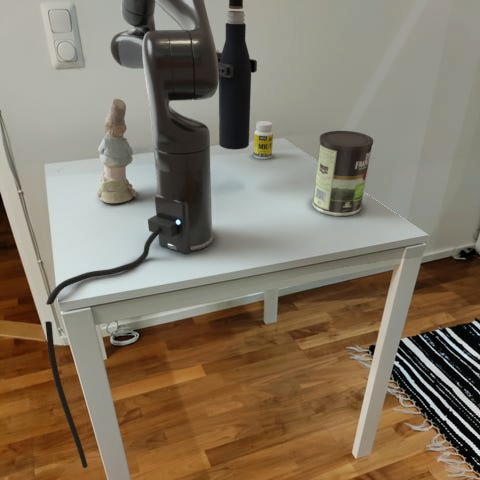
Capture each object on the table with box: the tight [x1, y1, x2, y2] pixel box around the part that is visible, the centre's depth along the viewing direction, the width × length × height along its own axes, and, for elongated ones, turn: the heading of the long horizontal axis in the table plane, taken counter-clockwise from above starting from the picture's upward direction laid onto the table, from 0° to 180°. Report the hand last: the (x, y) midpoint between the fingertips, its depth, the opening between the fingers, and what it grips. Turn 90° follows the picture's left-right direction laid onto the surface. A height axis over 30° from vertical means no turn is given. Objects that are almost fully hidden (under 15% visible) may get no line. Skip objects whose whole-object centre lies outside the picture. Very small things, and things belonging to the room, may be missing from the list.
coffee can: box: [311, 130, 374, 217], centre depth 95 cm, size 10×10×14 cm
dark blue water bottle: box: [218, 0, 252, 150], centre depth 92 cm, size 6×6×30 cm
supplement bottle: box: [253, 120, 274, 160], centre depth 121 cm, size 5×5×8 cm
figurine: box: [97, 98, 138, 204], centre depth 96 cm, size 9×8×20 cm
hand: (244, 69), depth 91 cm, fingers closed on dark blue water bottle, 6 cm apart
